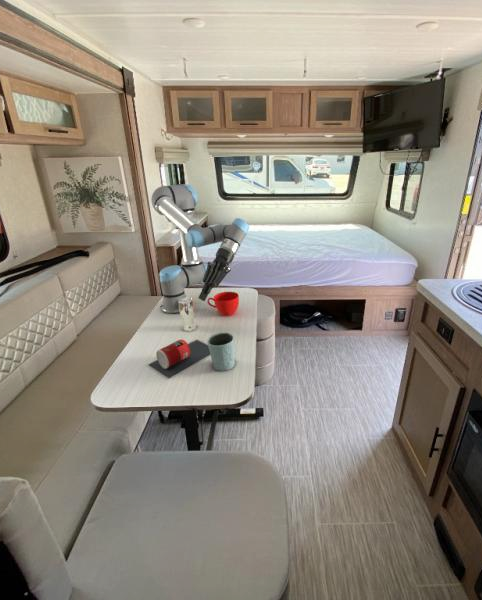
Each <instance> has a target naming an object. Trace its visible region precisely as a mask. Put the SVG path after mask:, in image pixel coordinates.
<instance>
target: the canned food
mask: <svg viewBox="0 0 482 600" xmlns="http://www.w3.org/2000/svg"><path fill="white" fill-rule="evenodd" d="M188 344H189V343H188V342H187V341H186V340H185V339H177V340H175V341H173V342H172V343H170V344H168V345H166V346H164V347H162V348H160V349H158V350H157V351H156V353H155V354H156V355H155V357H156V359H157V360H158V362H159V364H160V365H161V366H162V367H163V368H165V369H167V368H169V367H171V366H172V365H174V364H176V363H178V362H180V361H181V360H183V359H185V358H187V357H188V356H189V355H190V348H189V346H188ZM157 360H156V361H157Z"/></svg>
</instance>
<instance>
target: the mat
mask: <svg viewBox="0 0 482 600" xmlns="http://www.w3.org/2000/svg"><path fill="white" fill-rule="evenodd" d="M187 344H188V346H189V348H190V355H189V356H188V357H187V358H185V359H183V360H181V361H180V362H178V363H176V364H174V365H172V366H171V367H169V368H167V369H165V368H163V367H162V366H161V365H160V364H159V362H158V360H154V361H152V362H151V363H149V364H148V365H149V366H150V367H151V368H152V369H155V370H156V371H158V372H159V373H160V374H162V375H163V376H165V377H166V378H168V379H170V378H171V377H173V376H175V375H177V374H179V373H180V372H182V371H184V370H186V369H187V368H189V367H190V366H192V365H194V364H196V363H198V362H199V361H201V360H203V359H204V358H206V357H208V356H211V354H210V350H209V347H208V344H207V343H204V342H202V341H200V340H198V339H196V340H194V341H192V342H190V343H187Z"/></svg>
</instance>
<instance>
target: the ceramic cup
mask: <svg viewBox="0 0 482 600" xmlns="http://www.w3.org/2000/svg"><path fill="white" fill-rule="evenodd" d="M210 300H211V301H213V302H214V304H212V303H211V302H210ZM206 301H207V304H208V305H209V306H211V307H212V308H214V309H216V310H217V311H218V313H219V314H221V315H222V316H224V317H230V316H233V315H235V313H236V312H237V310H238V308H239V303H240V296H239V294H238V292H235V291H222V292H219V293H216V294H214V296H213V297H208V298H207V299H206Z"/></svg>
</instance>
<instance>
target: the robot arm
mask: <svg viewBox="0 0 482 600" xmlns="http://www.w3.org/2000/svg"><path fill="white" fill-rule="evenodd" d="M150 200H151V201H150V202H151V206H152V208H153V209H154V211H156V213H158V215H160V216H164V217H165V218H166V219H167V220H168V221H170V222H171V224H173V226H175V227H176V228H177V229H178V235H179V243H180V247H181V253H182V258H183V259H182V261H181V263H180V264H181V265H177V264H174V265H168V266H166V267H163V268H162V269H160V271H159V282H160V287H161V292H162V304H161V305H160V308H161V311H162V312H163V313H165V314H180V311H179V302H178V301H179V300H180V299H182V298H188V297H187V295H186V293H185V288H189V287H192V286H195V285H200V284H201V283H203V284H204V285H203V287H202V288H201V291H200V293H199V295H198V299H199V300H200V301H203V302H206V301H207V299H208V296H209V295H210V293H211V291H212V289H213V288H218V287H219V285H220V284H221V283H222V281H223V280H224V279H225V278H226V276H227V275H228V274H229V273H230V272H231V271H232V269H231V268H230V267H229V266H230V264H232V262H233V260H234V259H235V256H236V255H237V253H238V251H239V249H240V247H241V245H242V243H243V241H244V239H245V237H246V236H247V234H248V231H249V229H250V225H249V223H248V222H247V221H246V220H244V219H242V218H239V217H236V218H235V219H234V220H233V221H232V222H231V223H228V224H226V223H218V224H215V225H213V226H207V227H202V226H201V225H200V224H199V223H197V222H196V221H195V220H194V215H193V214H194V212H195V211H196V210H195V207H197V206H198V202H199V198H198V194H197V191H196V190H195V189H194V187H193V186H192V185H191V184H187V183H185V184H183V183H180V184H172V185H171V184H170V185H161V186H158V187H157V188H155V190H154V191H153V193H152V194H151V199H150ZM219 243H221V244H220V245H219V248H218V249H217V251H216V253H215V258H214V259H213V260H212V261H208V262H207V263H206V262H204V261H203V259H202V258H200V254H199V248H201V247H205V246H209V245H213V244H219Z"/></svg>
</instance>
